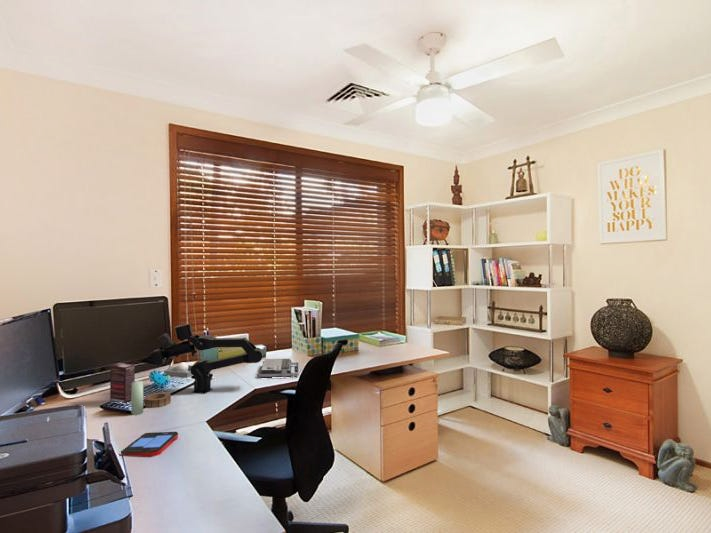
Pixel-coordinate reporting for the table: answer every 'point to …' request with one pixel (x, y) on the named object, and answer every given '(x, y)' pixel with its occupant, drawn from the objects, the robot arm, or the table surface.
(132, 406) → the dowel
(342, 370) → the table surface
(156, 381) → the blue virus toy
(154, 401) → the brown segmented ring
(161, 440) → the red dual-screen device
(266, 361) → the radio
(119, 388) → the supplement box
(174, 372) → the mouse tray
